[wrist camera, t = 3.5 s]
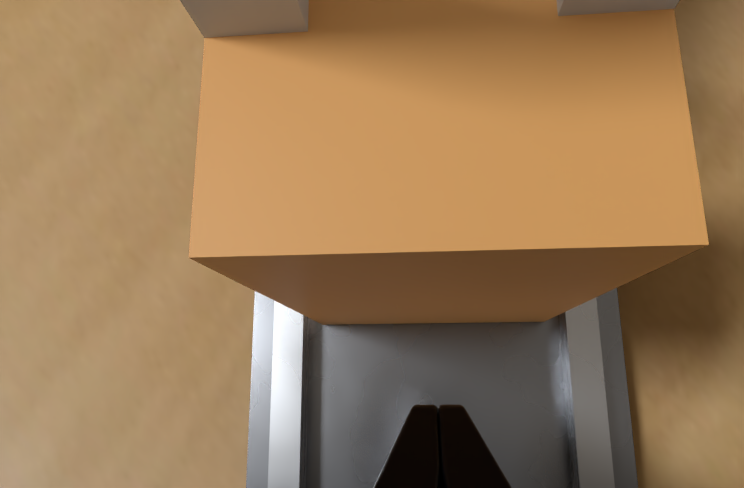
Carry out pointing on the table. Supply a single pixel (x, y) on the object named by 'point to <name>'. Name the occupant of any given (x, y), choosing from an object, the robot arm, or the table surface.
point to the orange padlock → (441, 154)
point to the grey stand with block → (440, 396)
